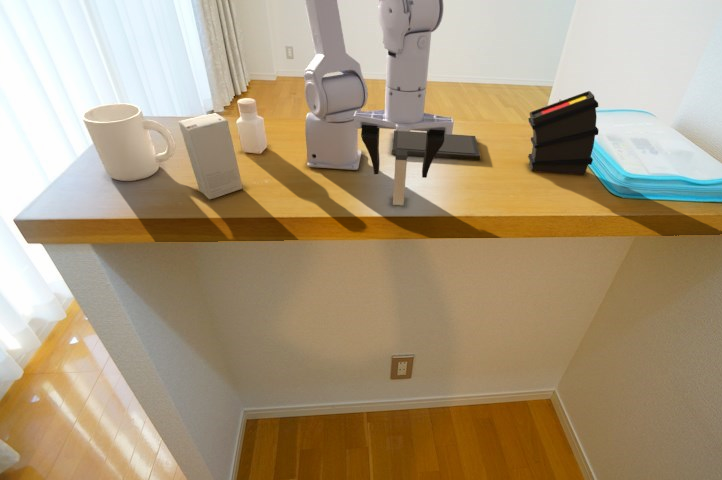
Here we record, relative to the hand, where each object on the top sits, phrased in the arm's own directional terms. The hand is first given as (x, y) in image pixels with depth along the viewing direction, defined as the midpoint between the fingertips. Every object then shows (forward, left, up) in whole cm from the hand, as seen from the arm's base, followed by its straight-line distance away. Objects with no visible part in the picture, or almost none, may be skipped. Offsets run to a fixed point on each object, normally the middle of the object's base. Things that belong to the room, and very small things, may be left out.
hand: (400, 173), depth 67 cm
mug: (-45, +5, -6) cm, 46 cm away
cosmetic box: (-30, 0, -6) cm, 31 cm away
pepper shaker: (-29, +16, -6) cm, 34 cm away
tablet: (+7, +23, -5) cm, 25 cm away
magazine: (+30, +16, -6) cm, 34 cm away
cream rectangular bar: (0, 0, -6) cm, 6 cm away
